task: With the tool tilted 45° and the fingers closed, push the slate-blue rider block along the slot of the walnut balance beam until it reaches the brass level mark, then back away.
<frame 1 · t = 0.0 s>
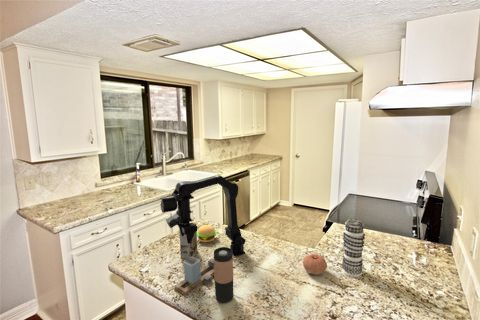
hand: (185, 239, 127), 15 cm above the worktop, tool pointing down, fingers open, 9 cm apart
grey white banded cylinder: (352, 272, 123), on the worktop
coffee box: (189, 254, 142), on the worktop
beam: (200, 278, 120), on the worktop
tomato: (314, 272, 123), on the worktop
rider: (192, 271, 116), point 6 cm above the worktop, slide at 0.0 cm
hamburger: (206, 239, 159), on the worktop
travel mug: (224, 297, 107), on the worktop
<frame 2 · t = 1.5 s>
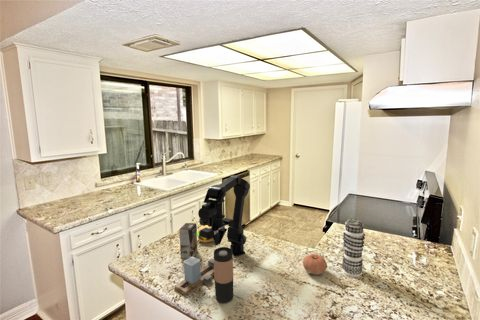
hand: (217, 244, 124), 13 cm above the worktop, tool pointing down, fingers closed
nothing on the worktop moved.
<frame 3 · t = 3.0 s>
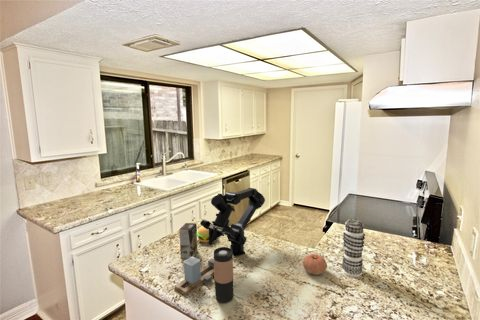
hand: (209, 244, 124), 13 cm above the worktop, tool tilted 45°, fingers closed
nothing on the worktop moved.
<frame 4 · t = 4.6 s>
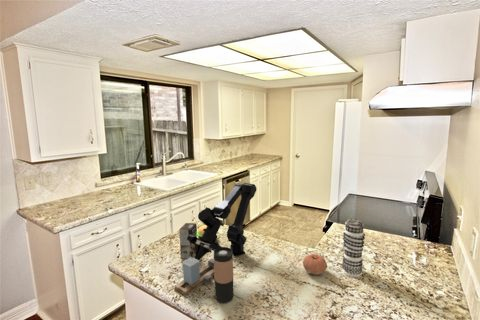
hand: (195, 262, 117), 9 cm above the worktop, tool tilted 45°, fingers closed, pressing on rider
rider: (191, 272, 115), point 6 cm above the worktop, slide at 0.6 cm, touching gripper
everything else where it was.
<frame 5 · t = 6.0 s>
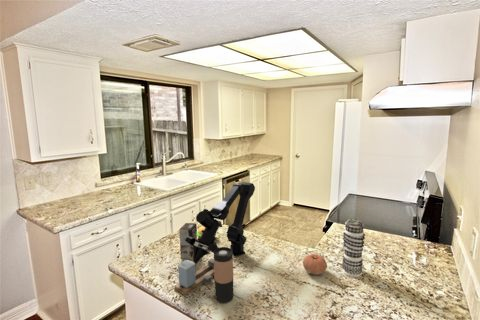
hand: (194, 264, 116), 9 cm above the worktop, tool tilted 45°, fingers closed
rider: (187, 275, 113), point 6 cm above the worktop, slide at 3.2 cm
everything else where it was.
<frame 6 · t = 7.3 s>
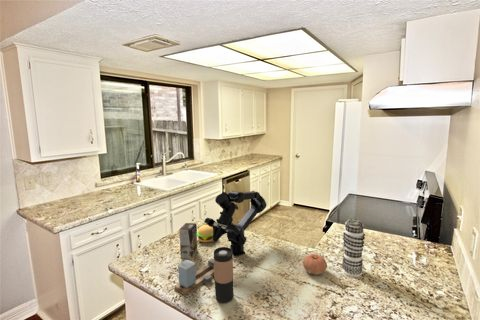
hand: (213, 242, 126), 13 cm above the worktop, tool tilted 45°, fingers closed
nothing on the worktop moved.
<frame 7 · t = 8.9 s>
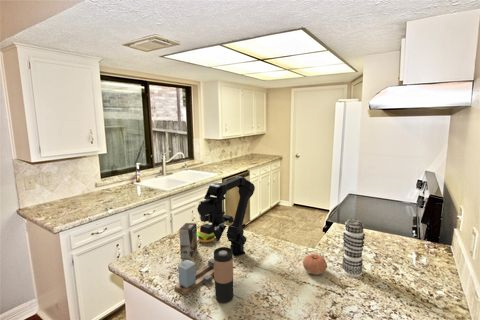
hand: (218, 240, 129), 13 cm above the worktop, tool pointing down, fingers closed
nothing on the worktop moved.
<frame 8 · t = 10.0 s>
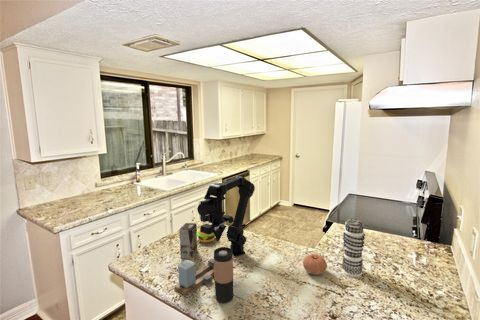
hand: (218, 240, 129), 13 cm above the worktop, tool pointing down, fingers closed
nothing on the worktop moved.
at the end: rider slide at 3.2 cm; the gripper is holding nothing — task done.
